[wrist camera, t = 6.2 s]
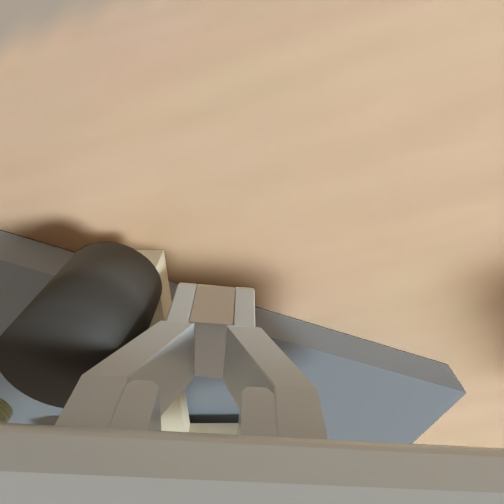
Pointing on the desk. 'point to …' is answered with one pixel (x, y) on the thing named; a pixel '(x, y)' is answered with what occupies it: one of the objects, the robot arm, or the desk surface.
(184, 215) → the desk surface
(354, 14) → the desk surface
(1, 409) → the gold rounded cylinder
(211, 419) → the board
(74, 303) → the knobbed lever handle
